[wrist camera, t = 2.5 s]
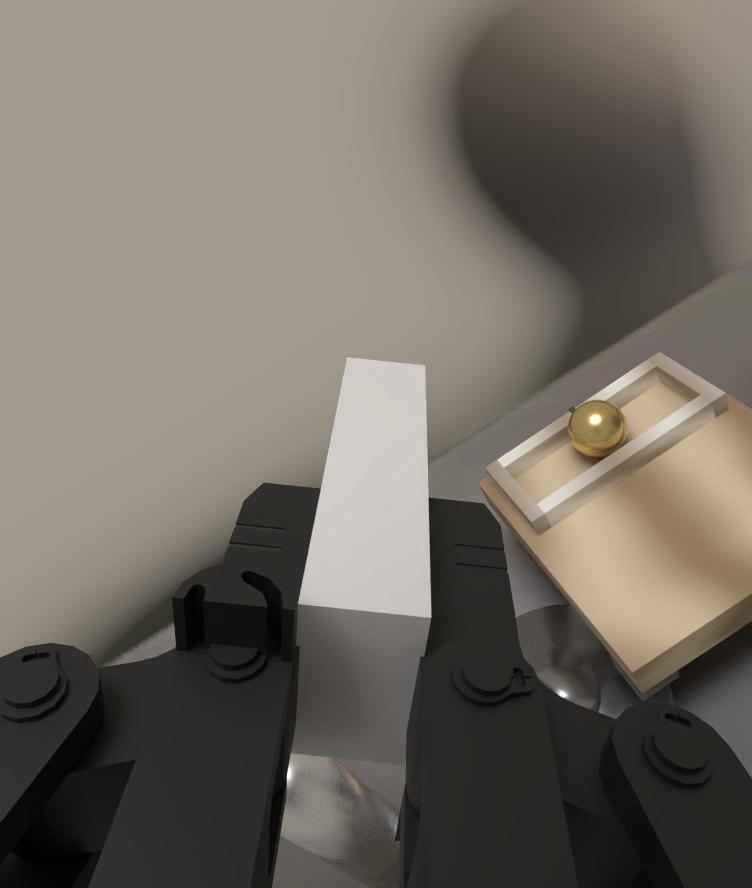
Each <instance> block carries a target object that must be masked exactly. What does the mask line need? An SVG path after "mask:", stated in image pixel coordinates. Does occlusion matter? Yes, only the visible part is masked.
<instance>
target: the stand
mask: <svg viewBox="0 0 752 888" xmlns="http://www.w3.org/2000/svg"><path fill="white" fill-rule="evenodd" d="M592 400H603V401H608V402H610V403H612V404H614V405H616V406H617V407H618V408H619V409H620V410H621V411H622V412H623V414H624V415H625V417H626V420H627V424H628V433H627V437H626V440H625V442H624V443H623V445H622V446H621V447H620V448H619V449H618V450H617V451H615V452H614V453H612V454H611V455H608V456H605V457H591V456H587V455H585V454H583V453H581V452H580V451H578V450H577V449H576V448H575V447H574V446H573V444H572V443H571V441H570V438H569V435H568V422H569V419H570V417H571V415H572V413H573V412H574V411H575V410H576V409H577V408H578V407H579V406H580V405H582V404H584V403H586V402H588V401H592ZM582 404H580V405H579V406H577V407H576V408H574V407H571V408H570V409H568V410H569V411H570V412H568V413H567V414H565V415H564V416H562V417H561V418H559V419H558V420H556V421H555V422H553V423H552V424H550V425H549V426H547V427H546V428H544V429H543V430H541V431H540V432H538V433H537V434H535V435H534V436H532V437H531V438H529V439H528V440H526V441H525V442H523V443H522V444H520V445H519V446H517V447H516V448H514V449H513V450H511V451H510V452H508V453H507V454H505V455H504V456H502V457H501V458H499V459H498V460H496V461H495V462H493V463H492V464H490V465H489V466H487V467H486V468H485V469H486V471H487V473H488V475H489V476H488V477H487V478H485V479H484V480H482V481H481V482H479V483H478V485H479V486H480V488H481V490H482V492H483V494H484V495H485V497H486V499H487V501H488V502H489V504H490V506H491V507H492V508H493V509H494V510H495V512H496V513H497V514H498V515H499V517H500V518H501V519H502V520H503V522H504V523H505V524H506V525H507V527H508V528H509V529H510V530H511V532H512V533H513V534H514V535H515V537H516V538H517V539H518V540H519V541H520V543H521V544H522V545H523V546H524V548H525V549H526V550H527V551H528V553H529V554H530V555H531V556H532V558H533V559H534V560H535V561H536V563H537V564H538V565H539V566H540V568H541V569H542V570H543V571H544V572H545V574H546V575H547V576H548V577H549V579H550V580H551V581H552V582H553V584H554V585H555V586H556V587H557V589H558V590H559V591H560V592H561V594H562V595H563V596H564V597H565V599H566V600H567V601H568V602H569V603H570V605H571V606H572V607H573V608H574V610H575V611H576V612H577V613H578V615H579V616H580V617H581V618H582V620H583V621H584V622H585V623H586V625H587V626H588V627H589V628H590V630H591V631H592V632H593V633H594V634H595V636H596V637H597V638H598V639H599V641H600V642H601V643H602V644H603V646H604V647H605V648H606V649H607V651H608V653H609V655H610V657H611V659H612V661H613V663H614V665H615V667H616V668H617V670H618V671H619V672H620V673H621V675H622V676H623V677H624V678H625V680H626V681H627V682H628V683H629V685H630V686H631V687H632V688H633V690H634V691H635V692H636V693H637V695H638V696H639V697H640V698H641V700H642V701H644V700H646V699H647V698H649V697H650V696H652V695H653V694H655V693H656V692H658V691H659V690H661V689H662V688H664V687H665V686H667V685H668V684H670V683H671V682H673V681H674V680H676V679H677V678H679V677H680V676H679V673H678V671H677V670H679V669H680V668H682V667H683V666H685V665H686V664H688V663H689V662H691V661H692V660H694V659H695V658H697V657H698V656H700V655H701V654H703V653H704V652H706V651H707V650H709V649H710V648H712V647H713V646H715V645H716V644H718V643H719V642H721V641H722V640H724V639H725V638H727V637H728V636H730V635H731V634H733V633H734V632H736V631H737V630H739V629H740V628H742V627H743V626H745V625H746V624H748V623H749V622H751V621H752V409H751V408H749V407H747V406H746V405H744V404H743V403H741V402H739V401H738V400H736V399H735V398H733V397H731V396H730V395H728V394H726V393H725V392H723V391H722V390H720V389H718V388H717V387H715V386H714V385H712V384H710V383H709V382H707V381H706V380H704V379H702V378H701V377H699V376H697V375H696V374H694V373H693V372H691V371H689V370H688V369H686V368H685V367H683V366H681V365H680V364H678V363H677V362H675V361H673V360H672V359H670V358H668V357H667V356H665V355H663V354H662V353H660V352H658V353H657V354H655V355H654V356H652V357H651V358H649V359H648V360H646V361H645V362H643V363H642V364H640V365H639V366H637V367H636V368H634V369H633V370H631V371H630V372H628V373H627V374H625V375H624V376H622V377H621V378H619V379H618V380H616V381H615V382H613V383H612V384H610V385H609V386H607V387H606V388H604V389H603V390H601V391H600V392H598V393H597V394H595V395H594V396H592V397H591V398H589V399H588V400H586V401H585V402H583V403H582Z"/></svg>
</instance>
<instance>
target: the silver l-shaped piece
mask: <svg viewBox="0 0 752 888" xmlns="http://www.w3.org/2000/svg"><path fill="white" fill-rule="evenodd" d="M516 624H517V630H518V636H519V642H520V647H521V650H522V654H523V657H524V659H525V660H526V661H527V662H528V663H529V664H530V665H531V666H532V667H533V668H534V670H535V672H536V675H537V677H538V679H539V680H540V681H541V682H542V683H543V684H544V685H545V686H547V687H548V688H549V689H551V690H552V691H553V692H555V693H556V694H558V695H559V696H561V697H563V698H565V699H567V700H569V701H571V702H573V703H575V704H578V705H580V706H583V707H585V708H588V709H591V710H593V711H596V712H599V713H601V714H604V715H606V716H609V717H612V718H614V719H617V718H618V717H619V716H620V714H621V713H622V712H623V711H624V710H625V709H626V708H627V707H630V706H633V705H636V704H639V703H642V702H653V703H667V704H669V705H672V706H675V702H674V697H673V693H672V691H671V688H670V685H669V684H668V685H667V686H665V687H664V688H662V689H661V690H659V691H658V692H656V693H655V694H653V695H652V696H650V697H649V698H647V699H646V700H644V701H642V700H641V698H640V697H639V696H638V695H637V693H636V692H635V691H634V690H633V688H632V687H631V686H630V685H629V683H628V682H627V681H626V680H625V678H624V677H623V676H622V675H621V673H620V672H619V671H618V670H617V668H616V667H615V665H614V663H613V661H612V659H611V657H610V655H609V653H608V651H607V649H606V648H605V647H604V646H603V644H602V643H601V642H600V641H599V639H598V638H597V637H596V636H595V634H594V633H593V632H592V631H591V630H590V628H589V627H588V626H587V625H586V623H585V622H584V621H583V620H582V618H581V617H580V616H579V615H578V613H577V612H576V611H575V610H574V608H573V607H572V606H571V605H554V606H548V607H543V608H539V609H536V610H532V611H530V612H527V613H525V614H522V615H520V616H519V617H517V618H516ZM399 814H400V809H398V808H397V807H396V806H395V805H393V804H392V803H391V802H390V801H388V800H387V799H386V798H385V797H383V796H382V795H381V794H380V793H378V792H377V791H376V790H375V789H373V788H372V787H371V786H370V785H368V784H367V783H366V782H365V781H363V780H362V779H361V778H360V777H358V776H357V775H356V774H355V773H353V772H352V771H351V770H350V769H348V768H347V767H346V766H345V765H343V764H342V763H341V762H340V761H338V760H337V759H336V758H332V757H322V756H312V755H302V754H292V753H291V755H290V761H289V767H288V774H287V797H286V803H285V809H284V815H283V821H282V827H281V834H280V835H281V836H283V837H285V838H286V839H288V840H290V841H291V842H293V843H295V844H296V845H298V846H300V847H301V848H303V849H305V850H306V851H308V852H310V853H311V854H313V855H315V856H317V857H318V858H320V859H322V860H323V861H325V862H327V863H328V864H330V865H332V866H333V867H335V868H337V869H338V870H340V871H342V872H343V873H345V874H347V875H349V876H350V877H352V878H354V879H355V880H357V881H359V882H360V883H362V884H364V885H365V886H367V887H369V888H399V869H400V841H394V840H395V835H396V830H397V825H398V820H399Z"/></svg>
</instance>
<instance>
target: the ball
mask: <svg viewBox="0 0 752 888" xmlns="http://www.w3.org/2000/svg"><path fill="white" fill-rule="evenodd" d="M627 433H628V424H627V420H626V417H625V415H624V414H623V412H622V411H621V410H620V409H619V408H618V407H617V406H616V405H614V404H612V403H610V402H608V401H603V400H592V401H588V402H586V403H584V404H582V405H580V406H579V407H578V408H577V409H576V410H575V411H574V412H573V413H572V415H571V417H570V419H569V422H568V435H569V438H570V441H571V443H572V444H573V446H574V447H575V448H576V449H577V450H578V451H580V452H581V453H583V454H585V455H587V456H591V457H605V456H608V455H611V454H612V453H614V452H615V451H617V450H618V449H619V448H620V447H621V446H622V445H623V443H624V442H625V440H626V437H627Z"/></svg>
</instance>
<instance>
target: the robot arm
mask: <svg viewBox="0 0 752 888" xmlns="http://www.w3.org/2000/svg"><path fill="white" fill-rule="evenodd" d="M425 386H426V382H425V366H424V365H415V364H406V363H396V362H387V361H377V360H367V359H358V358H349V357H347V362H346V367H345V372H344V377H343V382H342V387H341V392H340V397H339V401H338V406H337V412H336V416H335V422H334V426H333V431H332V436H331V442H330V446H329V452H328V456H327V461H326V467H325V471H324V477H323V482H322V486H321V489H319V488H310V487H300V486H290V485H281V484H271V483H263V484H262V485H261V486H260V487H259V488H258V489H256V490H255V491H254V492H253V493H252V494H251V495H250V496H249V497H248V498H246V499H245V500H244V502H243V505H242V508H241V511H240V513H239V516H238V519H237V522H236V528H234V531H233V533H232V536H231V539H230V542H229V547H227V550H226V553H225V556H224V559H223V562H222V564H219V565H216V566H213V567H210V568H206V569H203V570H200V571H199V572H198V573H196V574H194V575H193V576H191V577H190V578H189V579H187V580H186V581H184V582H183V583H182V584H181V586H180V587H179V589H178V590H177V591H176V593H175V594H174V596H173V597H172V602H173V614H174V626H175V637H176V647H175V648H174V649H172V650H170V651H168V652H166V653H164V654H161V655H159V656H157V657H154V658H150V659H146V660H142V661H138V662H132V663H126V664H120V665H114V666H108V667H102V668H97V667H96V666H95V664H94V662H93V660H92V659H91V657H90V656H89V655H87V654H86V653H84V652H82V651H80V650H79V649H77V648H75V647H73V646H68V645H61V644H54V643H48V644H41V645H35V646H29V647H24V648H22V649H19V650H17V651H15V652H12V653H10V654H8V655H5V656H3V657H1V658H0V888H272V883H273V877H274V871H275V864H276V858H277V852H278V846H279V840H280V834H281V827H282V821H283V815H284V809H285V803H286V797H287V774H288V767H289V761H290V755H291V753H292V754H302V755H312V756H322V757H332V758H342V759H351V760H361V761H371V762H381V763H391V764H401V765H404V761H405V756H406V784H405V789H404V794H403V799H402V804H401V809H400V814H399V820H398V825H397V830H396V835H395V840H394V841H400V869H399V888H752V778H751V777H750V776H749V774H748V773H747V771H746V770H745V768H744V767H743V765H742V764H741V762H740V761H739V759H738V758H737V756H736V755H735V753H734V752H733V750H732V749H731V747H730V746H729V745H728V744H727V743H726V742H725V741H724V740H723V739H722V737H721V736H720V735H719V734H718V733H717V732H716V731H715V730H714V728H713V727H711V726H710V725H708V724H707V723H705V722H704V721H702V720H701V719H699V718H698V717H697V716H695V715H694V714H692V713H691V712H688V711H686V710H683V709H680V708H677V707H675V706H672V705H669V704H667V703H653V702H642V703H639V704H636V705H633V706H630V707H627V708H626V709H625V710H624V711H623V712H622V713H621V714H620V716H619V717H618V718H617V719H614V718H612V717H609V716H606V715H604V714H601V713H599V712H596V711H593V710H591V709H588V708H585V707H583V706H580V705H578V704H575V703H573V702H571V701H569V700H567V699H565V698H563V697H561V696H559V695H558V694H556V693H555V692H553V691H552V690H551V689H549V688H548V687H547V686H545V685H544V684H543V683H542V682H541V681H540V680H539V679H538V677H537V675H536V672H535V670H534V668H533V667H532V666H531V665H530V664H529V663H528V662H527V661H526V660H525V659H524V657H523V654H522V650H521V647H520V642H519V636H518V630H517V624H516V618H515V611H514V605H513V599H512V593H511V587H510V581H509V575H508V573H507V563H506V557H505V553H504V544H503V538H502V532H501V526H500V524H499V523H498V521H497V520H496V519H495V517H494V516H493V515H492V513H491V512H490V511H489V509H488V508H487V507H486V505H485V504H484V503H474V502H465V501H455V500H445V499H436V498H428V463H427V424H426V387H425Z"/></svg>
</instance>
